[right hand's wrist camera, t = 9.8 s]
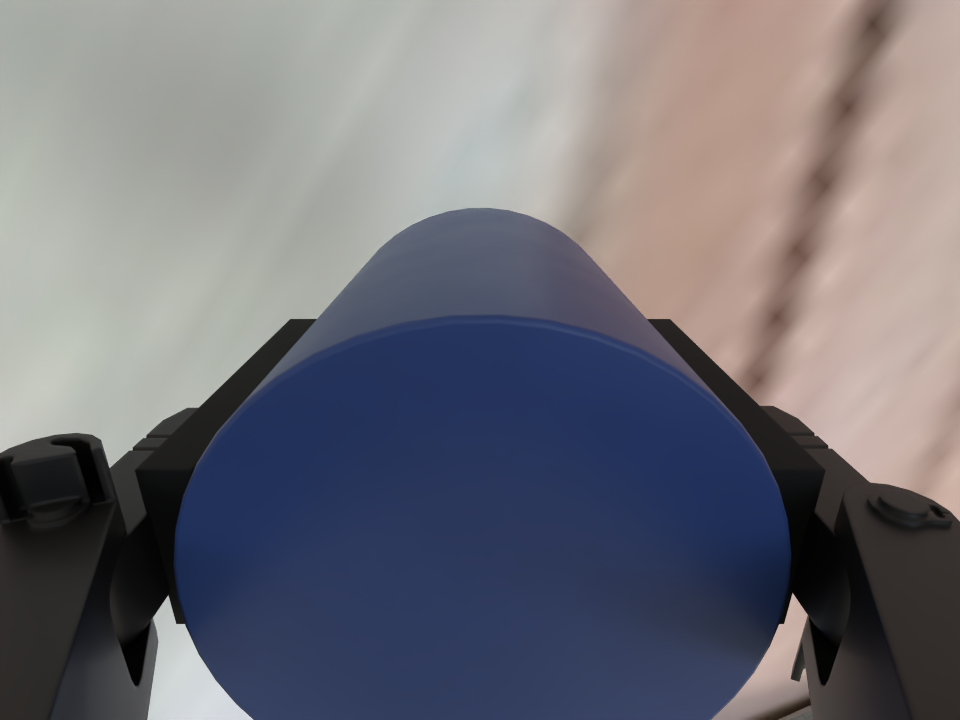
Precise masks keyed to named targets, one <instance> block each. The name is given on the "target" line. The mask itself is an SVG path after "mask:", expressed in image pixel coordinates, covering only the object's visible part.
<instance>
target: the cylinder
mask: <svg viewBox="0 0 960 720" xmlns="http://www.w3.org/2000/svg"><path fill="white" fill-rule="evenodd" d="M173 565H174V574H175V582H176V591H177V597H178V601H179V604H180V608H181V611H182V615H183V618H184V622H185V625H186V628H187V630H188V632H189V634H190V636H191V638H192V640H193V643H194V645H195V647H196V649H197V651H198V653H199V655H200V657H201V658H202V660H203V661H204V663H205V664H206V666H207V667H208V669H209V670H210V672H211V673H212V675H213V677H214V678H215V680H216V681H217V682H218V683H219V684H220V686H221V687H222V688H223V689H224V690H225V691H226V693H227V694H228V695H229V696H230V697H231V698H232V699H233V701H234V702H235V703H236V704H237V705H238V706H239V707H240V708H241V709H242V710H244V711H245V712H246V713H247V714H248V715H249V716H250V717H251V718H252V719H253V720H711V719H712V718H713V717H714V716H715V715H716V714H717V713H718V712H719V711H720V710H721V709H723V708H724V707H725V706H726V705H727V704H728V703H729V702H730V701H731V700H732V699H733V698H734V697H735V696H736V694H737V693H738V692H739V691H740V689H741V688H742V687H743V686H744V684H745V683H746V682H747V681H748V679H749V678H750V677H751V676H752V674H753V673H754V672H755V670H756V668H757V667H758V665H759V663H760V662H761V660H762V658H763V657H764V655H765V653H766V652H767V650H768V648H769V647H770V644H771V642H772V640H773V637H774V635H775V632H776V630H777V628H778V625H779V623H780V620H781V618H782V614H783V610H784V606H785V602H786V598H787V594H788V589H789V581H790V567H791V547H790V537H789V527H788V519H787V515H786V512H785V508H784V505H783V501H782V497H781V494H780V490H779V487H778V484H777V482H776V480H775V478H774V476H773V474H772V472H771V470H770V468H769V466H768V464H767V461H766V459H765V457H764V455H763V453H762V452H761V451H760V449H759V448H758V446H757V445H756V443H755V442H754V441H753V439H752V438H751V436H750V435H749V434H748V432H747V431H746V429H745V428H744V426H743V425H742V424H741V422H740V421H739V420H738V419H737V418H736V417H735V416H734V415H733V414H732V413H731V411H730V410H729V409H728V408H727V407H726V406H725V405H724V404H723V403H722V402H721V400H720V399H719V398H718V397H717V396H716V395H715V394H714V393H713V392H712V391H711V389H710V388H709V387H708V386H707V385H706V384H705V383H704V382H703V381H702V380H701V378H700V377H699V376H698V375H697V374H696V373H695V372H694V371H693V370H692V369H691V367H690V366H689V365H688V364H687V363H686V362H685V361H684V360H683V359H682V358H681V356H680V355H679V354H678V353H677V352H676V351H675V350H674V349H673V348H672V347H671V345H670V344H669V343H668V342H667V341H666V340H665V339H664V338H663V337H662V336H661V334H660V333H659V332H658V331H657V330H656V329H655V328H654V327H653V326H652V324H651V323H650V322H649V321H648V320H647V319H646V318H645V317H644V316H643V315H642V313H641V312H640V311H639V310H638V309H637V308H636V307H635V306H634V305H633V304H632V302H631V301H630V300H629V299H628V298H627V297H626V296H625V295H624V294H623V293H622V291H621V290H620V289H619V288H618V287H617V286H616V285H615V284H614V283H613V282H612V280H611V279H610V278H609V277H608V276H607V275H606V274H605V273H604V272H603V271H602V269H601V268H600V267H599V266H598V265H597V264H596V263H595V262H594V261H593V260H592V258H591V257H590V256H589V255H588V254H587V253H586V252H585V251H584V250H583V249H582V248H581V247H580V246H579V245H578V244H577V243H575V242H574V241H573V240H572V239H570V238H569V237H568V236H567V235H565V234H564V233H563V232H561V231H559V230H557V229H556V228H554V227H552V226H551V225H549V224H547V223H545V222H543V221H540V220H538V219H535V218H533V217H530V216H528V215H524V214H520V213H516V212H513V211H509V210H500V209H492V208H468V209H462V210H455V211H449V212H445V213H442V214H439V215H435V216H432V217H429V218H427V219H424V220H422V221H420V222H418V223H416V224H413V225H411V226H410V227H408V228H406V229H405V230H403V231H402V232H400V233H399V234H397V235H395V236H394V237H393V238H392V239H391V240H389V241H388V242H387V243H386V244H385V245H383V246H382V247H381V248H380V249H379V250H378V251H377V252H376V254H375V255H374V256H373V257H372V258H371V259H370V260H369V261H368V263H367V264H366V265H365V266H364V267H363V268H362V269H361V270H360V272H359V273H358V274H357V275H356V276H355V277H354V278H353V279H352V281H351V282H350V283H349V284H348V285H347V286H346V287H345V288H344V290H343V291H342V292H341V293H340V294H339V295H338V296H337V297H336V299H335V300H334V301H333V302H332V303H331V304H330V305H329V306H328V308H327V309H326V310H325V311H324V312H323V313H322V314H321V315H320V317H319V318H318V319H317V320H316V321H315V322H314V323H313V324H312V326H311V327H310V328H309V329H308V330H307V331H306V332H305V333H304V335H303V336H302V337H301V338H300V339H299V340H298V341H297V342H296V344H295V345H294V346H293V347H292V348H291V349H290V350H289V351H288V353H287V354H286V355H285V356H284V357H283V358H282V359H281V360H280V362H279V363H278V364H277V365H276V366H275V367H274V368H273V369H272V371H271V372H270V373H269V374H268V375H267V376H266V377H265V378H264V380H263V381H262V382H261V383H260V384H259V385H258V386H257V387H256V389H255V390H254V391H253V392H252V393H251V394H250V395H249V396H248V398H247V399H246V400H245V401H244V402H243V403H242V404H241V405H240V407H239V408H238V409H237V410H236V411H235V412H234V413H233V414H232V416H231V417H230V418H229V419H228V420H227V421H226V422H225V423H224V425H223V426H222V427H221V428H220V429H219V430H218V431H217V433H216V434H215V436H214V437H213V439H212V440H211V442H210V444H209V445H208V447H207V448H206V450H205V451H204V453H203V455H202V456H201V458H200V459H199V461H198V462H197V464H196V467H195V469H194V471H193V474H192V476H191V479H190V481H189V483H188V486H187V488H186V490H185V493H184V495H183V499H182V503H181V507H180V512H179V516H178V520H177V525H176V530H175V545H174V564H173Z"/></svg>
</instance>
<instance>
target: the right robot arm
mask: <svg viewBox="0 0 960 720" xmlns="http://www.w3.org/2000/svg"><path fill="white" fill-rule="evenodd" d="M316 320H317V319H290V320H289V321H288V322H287V323H286V324H285V325H284V326H283V327H282V328H281V329H280V330H279V331H278V332H277V333H276V334H275V335H274V336H273V337H272V338H271V339H269V340H268V341H267V342H266V343H265V344H264V345H263V346H262V347H261V348H260V349H259V350H258V351H257V352H256V353H255V354H254V355H253V356H252V357H251V358H250V359H249V360H248V361H247V362H246V363H245V364H244V365H243V366H242V367H241V368H240V369H238V370H237V371H236V372H235V373H234V374H233V375H232V376H231V377H230V378H229V379H228V380H227V381H226V382H225V383H224V384H223V385H222V386H221V387H220V388H219V389H218V390H217V391H216V392H215V393H214V394H213V395H212V396H211V397H210V398H209V399H207V400H206V401H205V402H204V403H203V404H202V405H201V406H200V407H199V408H186V409H185V410H183V411H181V412H179V413H177V414H175V415H173V416H171V417H169V418H167V419H165V420H163V421H162V422H161V423H160V424H159V425H157V426H156V427H155V428H154V429H153V430H152V431H151V432H150V433H149V434H147V437H146V438H143V439H142V440H141V441H140V442H138V443H137V444H136V445H135V446H134V447H133V451H128V452H127V453H126V454H125V455H124V456H123V457H122V458H121V459H120V460H118V461H117V462H116V463H115V464H114V465H113V466H112V467H111V468H110V469H109V466H108V462H107V459H106V455H105V452H104V448H103V445H102V442H101V440H100V439H98V438H97V437H95V436H93V435H89V434H80V433H72V434H60V435H53V436H49V437H44V438H40V439H35V440H31V441H29V442H26V443H23V444H20V445H17V446H15V447H12V448H9V449H7V450H5V451H4V452H2V453H0V720H147V717H148V710H149V703H150V696H151V689H152V682H153V675H154V668H155V661H156V654H157V647H158V637H157V630H156V627H155V624H154V620H153V617H154V615H155V614H156V612H157V611H158V609H159V608H160V606H161V605H162V603H163V602H164V600H165V599H166V597H167V596H168V595H169V598H170V602H171V606H172V609H173V613H174V617H175V620H176V624H185V622H184V618H183V615H182V611H181V608H180V604H179V601H178V597H177V591H176V582H175V574H174V565H173V564H174V545H175V530H176V525H177V520H178V516H179V512H180V507H181V503H182V499H183V495H184V493H185V490H186V488H187V486H188V483H189V481H190V479H191V476H192V474H193V471H194V469H195V467H196V464H197V462H198V461H199V459H200V458H201V456H202V455H203V453H204V451H205V450H206V448H207V447H208V445H209V444H210V442H211V440H212V439H213V437H214V436H215V434H216V433H217V431H218V430H219V429H220V428H221V427H222V426H223V425H224V423H225V422H226V421H227V420H228V419H229V418H230V417H231V416H232V414H233V413H234V412H235V411H236V410H237V409H238V408H239V407H240V405H241V404H242V403H243V402H244V401H245V400H246V399H247V398H248V396H249V395H250V394H251V393H252V392H253V391H254V390H255V389H256V387H257V386H258V385H259V384H260V383H261V382H262V381H263V380H264V378H265V377H266V376H267V375H268V374H269V373H270V372H271V371H272V369H273V368H274V367H275V366H276V365H277V364H278V363H279V362H280V360H281V359H282V358H283V357H284V356H285V355H286V354H287V353H288V351H289V350H290V349H291V348H292V347H293V346H294V345H295V344H296V342H297V341H298V340H299V339H300V338H301V337H302V336H303V335H304V333H305V332H306V331H307V330H308V329H309V328H310V327H311V326H312V324H313V323H314V322H315V321H316ZM647 320H648V321H649V322H650V323H651V324H652V326H653V327H654V328H655V329H656V330H657V331H658V332H659V333H660V334H661V336H662V337H663V338H664V339H665V340H666V341H667V342H668V343H669V344H670V345H671V347H672V348H673V349H674V350H675V351H676V352H677V353H678V354H679V355H680V356H681V358H682V359H683V360H684V361H685V362H686V363H687V364H688V365H689V366H690V367H691V369H692V370H693V371H694V372H695V373H696V374H697V375H698V376H699V377H700V378H701V380H702V381H703V382H704V383H705V384H706V385H707V386H708V387H709V388H710V389H711V391H712V392H713V393H714V394H715V395H716V396H717V397H718V398H719V399H720V400H721V402H722V403H723V404H724V405H725V406H726V407H727V408H728V409H729V410H730V411H731V413H732V414H733V415H734V416H735V417H736V418H737V419H738V420H739V421H740V422H741V424H742V425H743V426H744V428H745V429H746V431H747V432H748V434H749V435H750V436H751V438H752V439H753V441H754V442H755V443H756V445H757V446H758V448H759V449H760V451H761V452H762V453H763V455H764V457H765V459H766V461H767V464H768V466H769V468H770V470H771V472H772V474H773V476H774V478H775V480H776V482H777V484H778V487H779V490H780V494H781V497H782V501H783V505H784V508H785V512H786V515H787V519H788V527H789V537H790V547H791V567H790V581H789V589H788V594H787V598H786V602H785V606H784V610H783V614H782V618H781V620H780V623H779V624H784V622H785V618H786V615H787V611H788V607H789V603H790V600H791V596H792V592H793V594H794V595H795V597H796V598H797V600H798V601H799V603H800V604H801V606H802V607H803V608H804V610H805V611H806V613H807V614H808V617H807V620H806V624H805V627H804V630H803V634H802V637H801V641H800V644H799V648H798V651H797V654H796V658H795V661H794V665H793V669H792V675H791V679H792V680H795V681H800V678H801V674H802V671H803V669H805V668H806V673H807V680H808V687H809V694H810V701H811V708H812V715H813V720H960V521H959V520H958V519H957V518H956V517H955V516H954V515H953V514H952V513H951V512H950V511H949V510H947V509H946V508H944V507H943V506H941V505H939V504H938V503H936V502H935V501H933V500H931V499H929V498H927V497H924V496H922V495H920V494H917V493H915V492H913V491H910V490H907V489H903V488H899V487H895V486H892V485H887V484H877V483H870V482H869V481H867V480H866V479H865V478H864V477H863V476H862V475H861V474H860V473H859V472H857V471H856V470H855V469H854V468H853V467H852V466H851V465H850V464H848V463H847V462H846V461H845V460H844V459H843V458H842V457H841V456H839V455H838V454H837V453H836V452H835V451H834V450H833V449H828V445H827V444H826V443H825V442H824V441H823V440H821V439H820V438H819V437H818V436H814V432H812V431H811V430H810V429H809V428H808V427H807V426H806V425H805V424H803V423H802V422H801V421H800V420H799V419H798V418H796V417H794V416H792V415H790V414H788V413H786V412H784V411H782V410H780V409H778V408H776V407H774V406H759V405H758V404H757V403H756V402H755V401H754V400H753V399H752V398H751V397H750V396H749V395H748V394H747V393H746V392H745V391H744V390H743V389H742V388H741V387H739V386H738V385H737V384H736V383H735V382H734V381H733V380H732V379H731V378H730V377H729V376H728V375H727V374H726V373H725V372H724V371H723V370H722V369H721V368H720V367H719V366H718V365H717V364H716V363H715V362H714V361H713V360H712V359H711V358H709V357H708V356H707V355H706V354H705V353H704V352H703V351H702V350H701V349H700V348H699V347H698V346H697V345H696V344H695V343H694V342H693V341H692V340H691V339H690V338H689V337H688V336H687V335H686V334H685V333H684V332H683V331H682V330H681V329H680V328H678V327H677V326H676V325H675V324H674V323H673V322H672V321H671V320H670V319H647Z"/></svg>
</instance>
